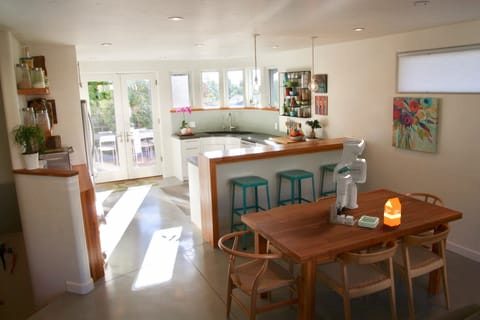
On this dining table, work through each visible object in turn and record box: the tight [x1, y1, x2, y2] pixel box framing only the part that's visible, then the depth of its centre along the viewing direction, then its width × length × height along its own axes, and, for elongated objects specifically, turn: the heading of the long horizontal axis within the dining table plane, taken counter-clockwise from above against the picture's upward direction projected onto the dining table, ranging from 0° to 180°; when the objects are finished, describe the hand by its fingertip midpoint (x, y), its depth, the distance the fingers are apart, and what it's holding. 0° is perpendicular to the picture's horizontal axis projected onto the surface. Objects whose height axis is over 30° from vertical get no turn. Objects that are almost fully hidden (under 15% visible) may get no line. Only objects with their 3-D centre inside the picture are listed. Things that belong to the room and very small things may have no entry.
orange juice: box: [383, 197, 402, 227], centre depth 296 cm, size 8×9×20 cm
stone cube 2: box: [345, 215, 354, 224], centre depth 301 cm, size 4×4×4 cm
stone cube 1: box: [337, 214, 346, 222], centre depth 304 cm, size 4×4×4 cm
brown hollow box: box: [329, 201, 359, 227], centre depth 302 cm, size 15×17×14 cm
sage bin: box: [357, 215, 380, 229], centre depth 297 cm, size 14×12×4 cm
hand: (341, 213), depth 303 cm, fingers open, 9 cm apart
